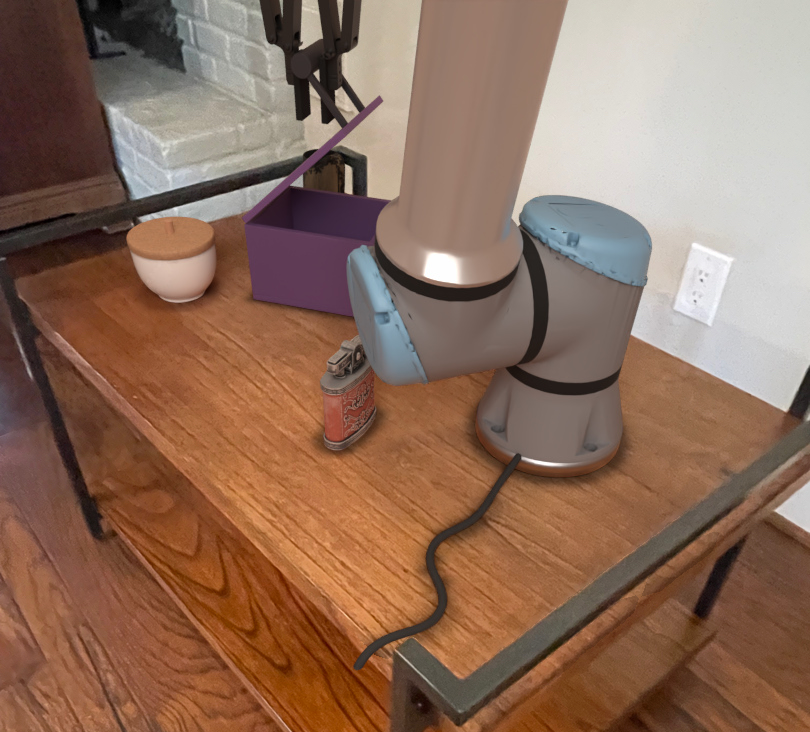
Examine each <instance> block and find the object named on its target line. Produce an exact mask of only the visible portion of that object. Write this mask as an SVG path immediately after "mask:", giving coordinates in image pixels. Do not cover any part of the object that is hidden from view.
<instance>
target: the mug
mask: <svg viewBox="0 0 810 732" xmlns="http://www.w3.org/2000/svg"><path fill="white" fill-rule="evenodd" d="M318 149H319V148H313V149H309V150H306V151H305V152H303V154H302V163H303V162H305V161H306V160H307V159H308V158H309V157H310V156H311V155H313V154H314V153H315V152H316V151H317V150H318ZM302 187H304V188H311V189H317V190H324V191H331V192H338V193H345V192H346V163H345V159H344V157H343V156H342V155H341V154H339V153H338V152H337V151H335V150H333V149H331V150H330V151H329V152H327V153H326V154H325V155H324V156H323V157H322V158H321V159H319V160H318V161H317V162H316V163H315V164H314V165H313V166H311V167H310V168H309V169H308V170H307V171H306V172H305V173H303V174H302ZM345 194H346V193H345Z"/></svg>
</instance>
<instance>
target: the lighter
mask: <svg viewBox="0 0 810 732" xmlns="http://www.w3.org/2000/svg"><path fill="white" fill-rule="evenodd" d="M319 387H320V390H321V392H322V403H323V406H322V407H323V419H324V433H323V444H324V446H325V447H326V448H327V449H329V450H333V451H342V450H344V449H347V448H348V447H350V446H351V445H352V444H354V443H355V442H357V441H358V440H359V439H361V437H363V436H364V435H365V433H366V432H367V431H368V430H369V428H370V427H371V426H372V425H373V424H374V421H375V419H376V418H377V407H376V405H375V372H374V370H373V368H372V367H371V365H370V363H369V360H368V358H367V356H366V353H365V351H364V348H363V345H362V342H361V339H360V336H359V334H357V335H355V336H354V337H353V338H352V339H351V340H348V339H344V340H343V341H342V342H341V344H340V347H339V350H337V351H336V352H335V353H334V354H333V355H331V357H329V358H328V359H327V360H326V371H325V372H324V374H323V375H322V376H321V377H320V380H319Z"/></svg>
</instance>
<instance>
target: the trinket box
mask: <svg viewBox="0 0 810 732" xmlns="http://www.w3.org/2000/svg"><path fill="white" fill-rule="evenodd" d="M126 244H127V248H128V249H129V251H130V255H131V256H130V257H131V260H132V263H133V265H134V268H135V271H136V273H137V275H138V277H139V278H140V280H141V281H142V283H143V284H144V286H146V287H147V288H148V289H149V290H150V291H151V292H153V293H154V294H155V295H157V296H158V297H159V298H160V299H162V300H163V301H166V302H169V303H176V304H179V303H181V304H182V303H188V302H192V301H196V300H197V299H200V298H201V297H202V296H204V294H205V293H206V291H207V289H208V288H209V287H210V285H211V283H213V280H214V277H215V275H216V271H217V261H218V260H217V259H218V258H217V247H216V234H215V230H214V228H213V226H211V224H210V223H208V222H206V221H204V220H201V219H199V218H195V217H189V216H163V217H156V218H152V219H148V220H147V221H143V222H140V223H139V224H137V225H135V226H133V227H132V228H131V229H130V230H129V231H128V232H127V234H126Z"/></svg>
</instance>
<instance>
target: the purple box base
mask: <svg viewBox="0 0 810 732" xmlns="http://www.w3.org/2000/svg"><path fill="white" fill-rule="evenodd" d="M391 200H392V199H386V198H385V199H384V198H378V197H372V196H364V195H357V194H352V193H338V192H331V191H324V190H317V189H311V188H304V187H303V186H296V185H290V186H289V187H287V188H286V189H285V190H284V191H283V192H282V193H281V194H279V195H278V196H277V197H276V198H275V199H274V200H273V201H271V202H270V203H269V204H268V205H267V206H266V207H264V208H263V209H262V210H261V211H260V212H259V213H258V214H256V215H255V216H254V217H253V218H252V219H251V220H250V221H248V222H247V223H245V224H244V226H243V227H244V235H245V242H246V250H247V258H248V267H249V274H250V282H251V290H252V298H253V300H256V301H262V302H268V303H273V304H279V305H285V306H290V307H296V308H301V309H307V310H312V311H318V312H324V313H328V314H329V313H330V314H335V315H341V316H348V317H351V318H352V317H353V318H354V315H353V310H352V306H351V301H350V296H349V290H348V283H347V259H348V256H349V254H350V253H351V252H352V251H353V250H354V249H357V248H360V247H361V246H362V245H366V246H367V247H369V246H374V243H375V234H376V224H377V219H378V216H379V214H380V212H381V211H382V209H383V208H384V207H385V206H386V205H387V204H388V203H389V202H390V201H391Z"/></svg>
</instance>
